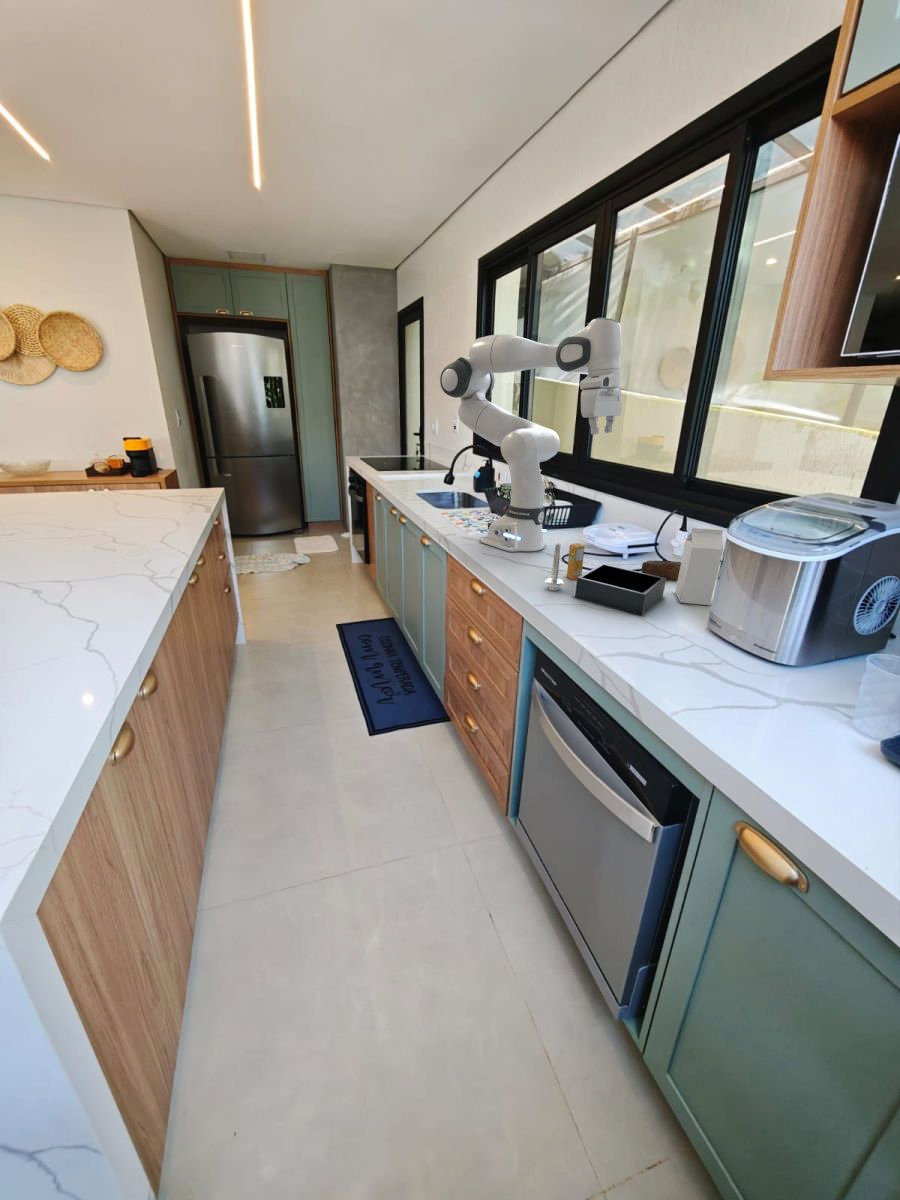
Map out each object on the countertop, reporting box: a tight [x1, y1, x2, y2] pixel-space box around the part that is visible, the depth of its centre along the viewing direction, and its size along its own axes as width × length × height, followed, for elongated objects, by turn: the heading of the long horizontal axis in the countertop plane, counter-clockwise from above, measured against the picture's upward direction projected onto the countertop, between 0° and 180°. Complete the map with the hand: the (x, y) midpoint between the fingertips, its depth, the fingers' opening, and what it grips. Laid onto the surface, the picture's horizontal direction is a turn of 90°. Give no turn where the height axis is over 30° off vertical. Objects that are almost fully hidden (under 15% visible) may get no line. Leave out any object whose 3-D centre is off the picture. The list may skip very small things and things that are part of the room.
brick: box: [641, 560, 681, 581], centre depth 147 cm, size 11×4×5 cm, turn 80°
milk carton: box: [674, 527, 724, 606], centre depth 129 cm, size 7×7×19 cm
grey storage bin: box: [574, 563, 667, 617], centre depth 131 cm, size 18×16×6 cm
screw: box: [544, 542, 564, 592], centre depth 135 cm, size 13×5×5 cm
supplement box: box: [566, 542, 586, 581], centre depth 144 cm, size 3×4×10 cm
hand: (601, 433), depth 147 cm, fingers open, 8 cm apart
